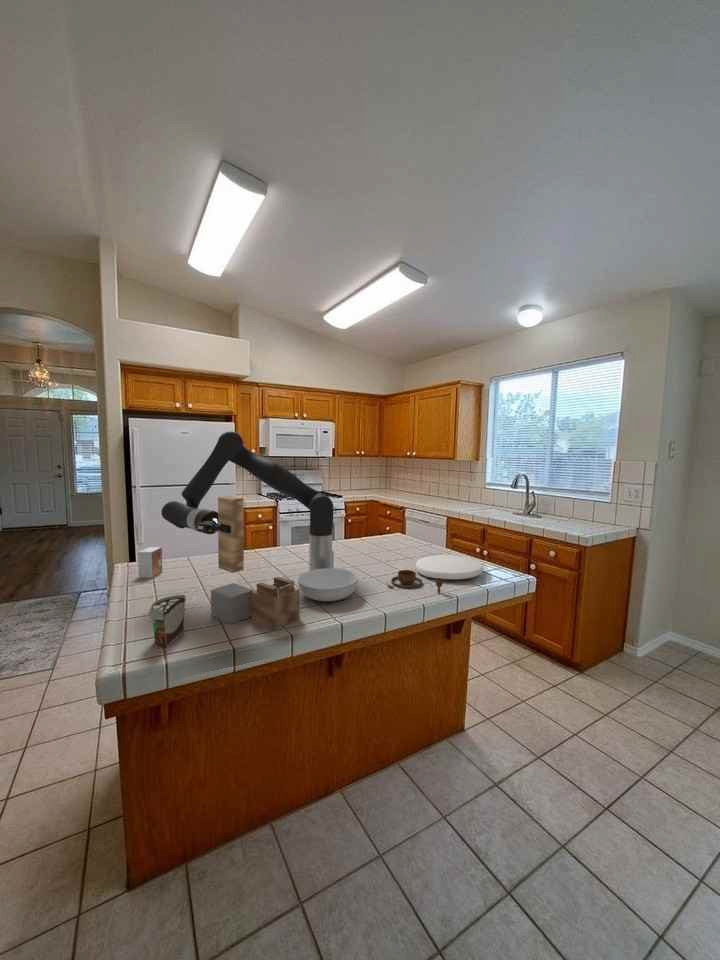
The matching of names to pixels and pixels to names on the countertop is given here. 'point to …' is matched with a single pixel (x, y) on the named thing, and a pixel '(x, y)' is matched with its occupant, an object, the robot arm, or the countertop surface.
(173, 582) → the countertop surface
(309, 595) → the serving bowl
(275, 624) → the walnut rack
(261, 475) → the robot arm
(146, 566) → the small box
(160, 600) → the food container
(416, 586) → the place setting
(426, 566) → the plate
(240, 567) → the oak board
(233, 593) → the slate block
